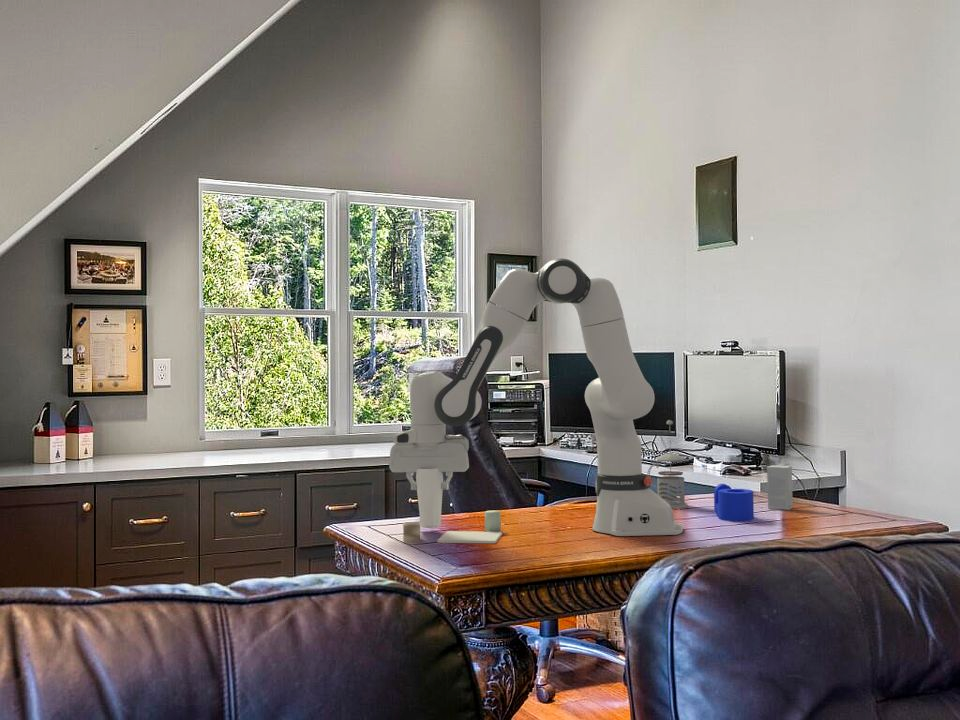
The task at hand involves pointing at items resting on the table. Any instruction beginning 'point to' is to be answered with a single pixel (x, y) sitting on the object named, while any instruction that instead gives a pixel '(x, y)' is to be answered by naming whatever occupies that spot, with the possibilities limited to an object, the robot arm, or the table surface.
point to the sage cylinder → (492, 521)
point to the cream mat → (469, 537)
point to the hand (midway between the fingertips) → (429, 489)
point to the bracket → (733, 503)
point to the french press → (670, 480)
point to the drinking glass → (429, 496)
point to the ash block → (411, 532)
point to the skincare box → (779, 487)
